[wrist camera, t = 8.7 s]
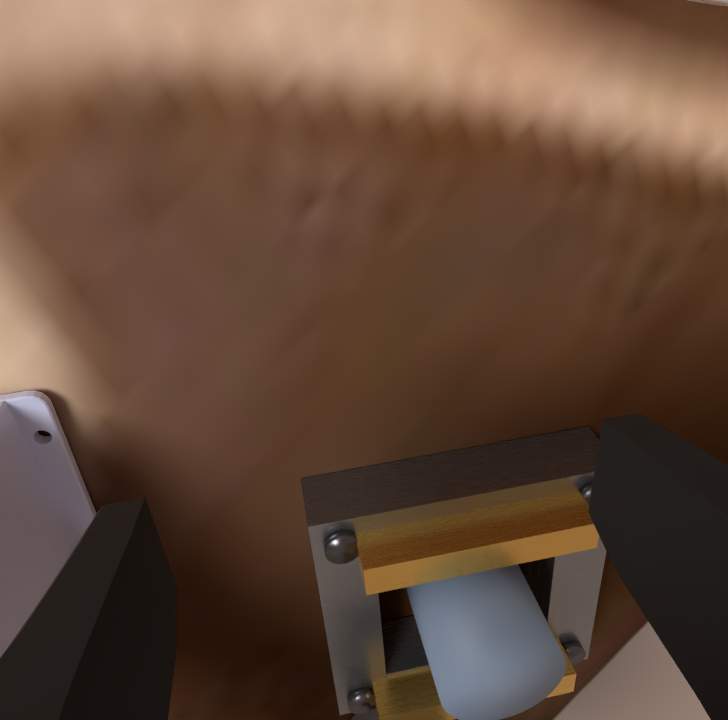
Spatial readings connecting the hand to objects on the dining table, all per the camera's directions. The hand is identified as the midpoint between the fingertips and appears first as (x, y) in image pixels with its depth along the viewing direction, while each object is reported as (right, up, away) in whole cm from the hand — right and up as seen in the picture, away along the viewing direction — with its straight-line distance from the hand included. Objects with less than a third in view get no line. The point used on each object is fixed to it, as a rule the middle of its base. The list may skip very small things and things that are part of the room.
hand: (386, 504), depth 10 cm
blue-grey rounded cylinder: (+3, -5, +16) cm, 17 cm away
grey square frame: (+3, -6, +16) cm, 18 cm away
